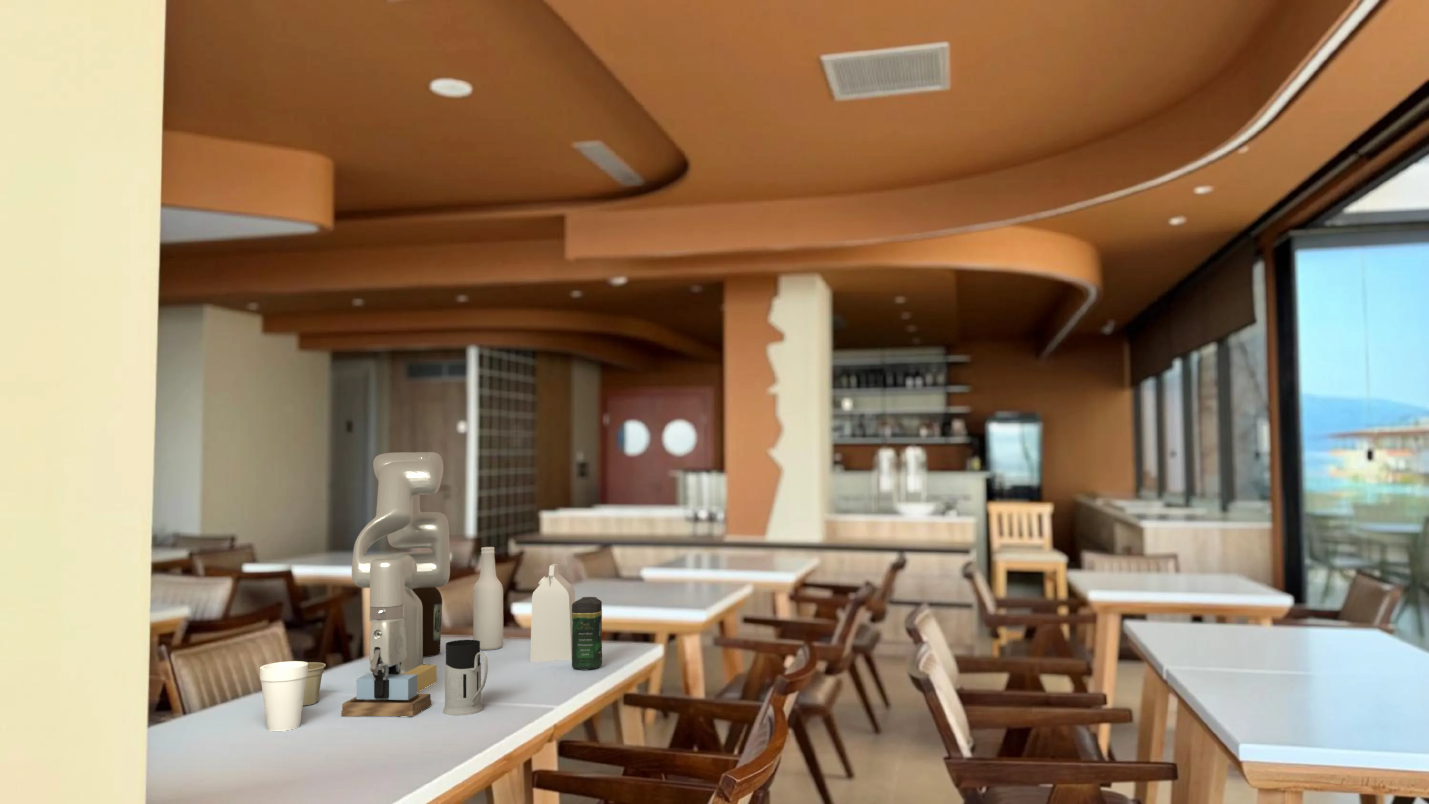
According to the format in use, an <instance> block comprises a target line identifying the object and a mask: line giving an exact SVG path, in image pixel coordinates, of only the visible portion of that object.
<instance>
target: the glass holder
mask: <svg viewBox="0 0 1429 804" xmlns="http://www.w3.org/2000/svg"><path fill="white" fill-rule="evenodd" d="M481 656H482V658H483V662H484V664H483V665H484V671H483V672H484V673H483V678H482V663H481ZM444 661H445V662H444V708H443V710H442V713H443V714H444V713H445V714H444V715H447V714H448V716H466V715H467V716H469V715H473V714H477V713H480V712H482V711H483V710H484V707H483V705H482V691H483V689H484V688H485V685H486V682H487V677H488V672H489V671H488V669H489V667H488V663H489V662H488V658H487V655H486V654H485V652H484V651H481V650H480V641H478V640H473V639H459V640H458V639H456V640H451V641H448V642H446V643H445V660H444Z"/></svg>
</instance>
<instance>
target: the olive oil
mask: <svg viewBox="0 0 1429 804" xmlns="http://www.w3.org/2000/svg"><path fill="white" fill-rule="evenodd" d="M412 591H413V592H414V593H415V594H416V595H417V596H418V597H419V599H420V600H421V602H422V606H423V658H425V657H427V658H428V657H432V656H437V655H439V654H441V642H442V641H441V636H442V632H441V631H442V614H443V597H442V594H441V592H440V590H439V589H438V587H429V588H414V589H412Z"/></svg>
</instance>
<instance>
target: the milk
mask: <svg viewBox="0 0 1429 804" xmlns="http://www.w3.org/2000/svg"><path fill="white" fill-rule="evenodd" d="M548 569H549V570H548V576H543V577H542V578H541V579H540V580H539V581H538V582H537V584H538V586H537V587H536V589H535V590H534V591H533V592H532V595H531V619H530V620H531V621H530V622H531V623H530V654H529V657H530V659H529V660H530V661H529V662H555V661H554V660H572V604H573V603H574V602H575V601H576V594H575V588H574V587H573V585H572V584H571V583H570V582H569V581H568V580H567V579H565V577H563V576H562V574H560V573H559V564H558V563H552V564H550V565H549V568H548Z"/></svg>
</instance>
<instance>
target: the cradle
mask: <svg viewBox="0 0 1429 804" xmlns="http://www.w3.org/2000/svg"><path fill="white" fill-rule="evenodd" d="M430 705H431V706H432V700H431V693H417V695H416V696H414V697H412V698H411V699H409V700H374V699H357V696H355V697H353V698H351V699H348V700H346V701H345V702H343V703H342V704H341V707H342V708H341V712H340V715H341V717H356V716H414V715H415V716H417V715H418V714H420V713H422V712H423V711H425V710H426V708H427V707H428V708H430V707H431V706H430ZM429 706H430V707H429ZM428 708H427V709H428ZM421 711H422V712H421ZM415 716H414V717H415Z"/></svg>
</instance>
